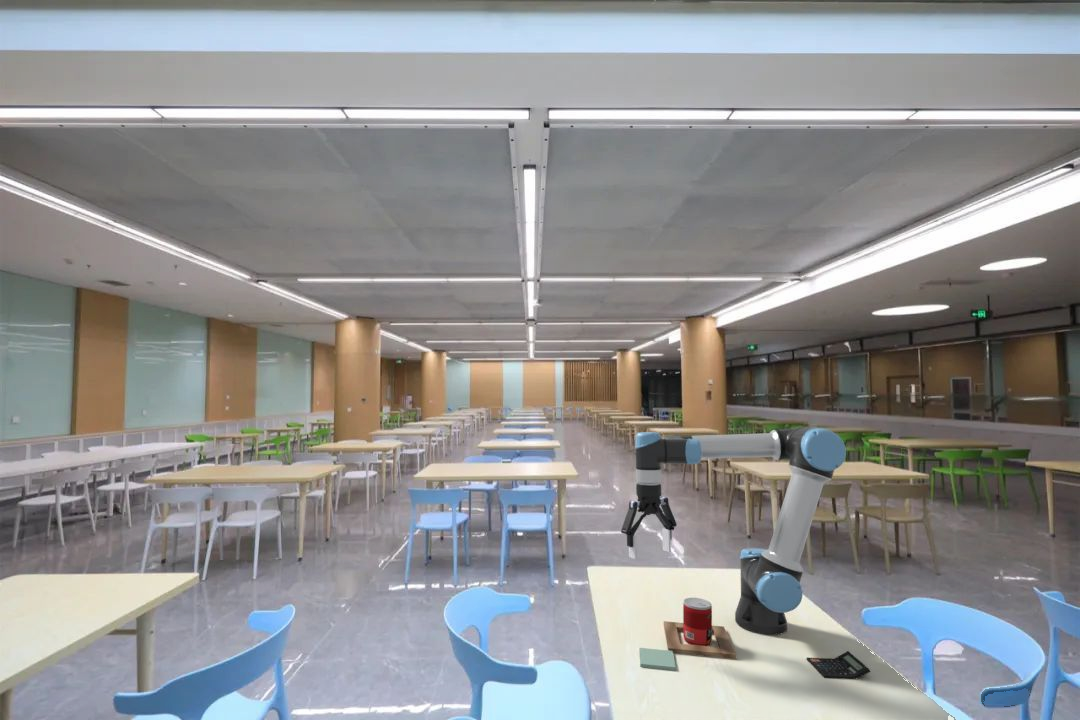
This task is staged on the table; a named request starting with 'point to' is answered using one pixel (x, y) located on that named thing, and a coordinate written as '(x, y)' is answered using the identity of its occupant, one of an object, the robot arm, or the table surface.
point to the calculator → (839, 666)
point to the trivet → (657, 659)
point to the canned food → (697, 621)
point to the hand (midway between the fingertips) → (650, 554)
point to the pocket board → (721, 652)
